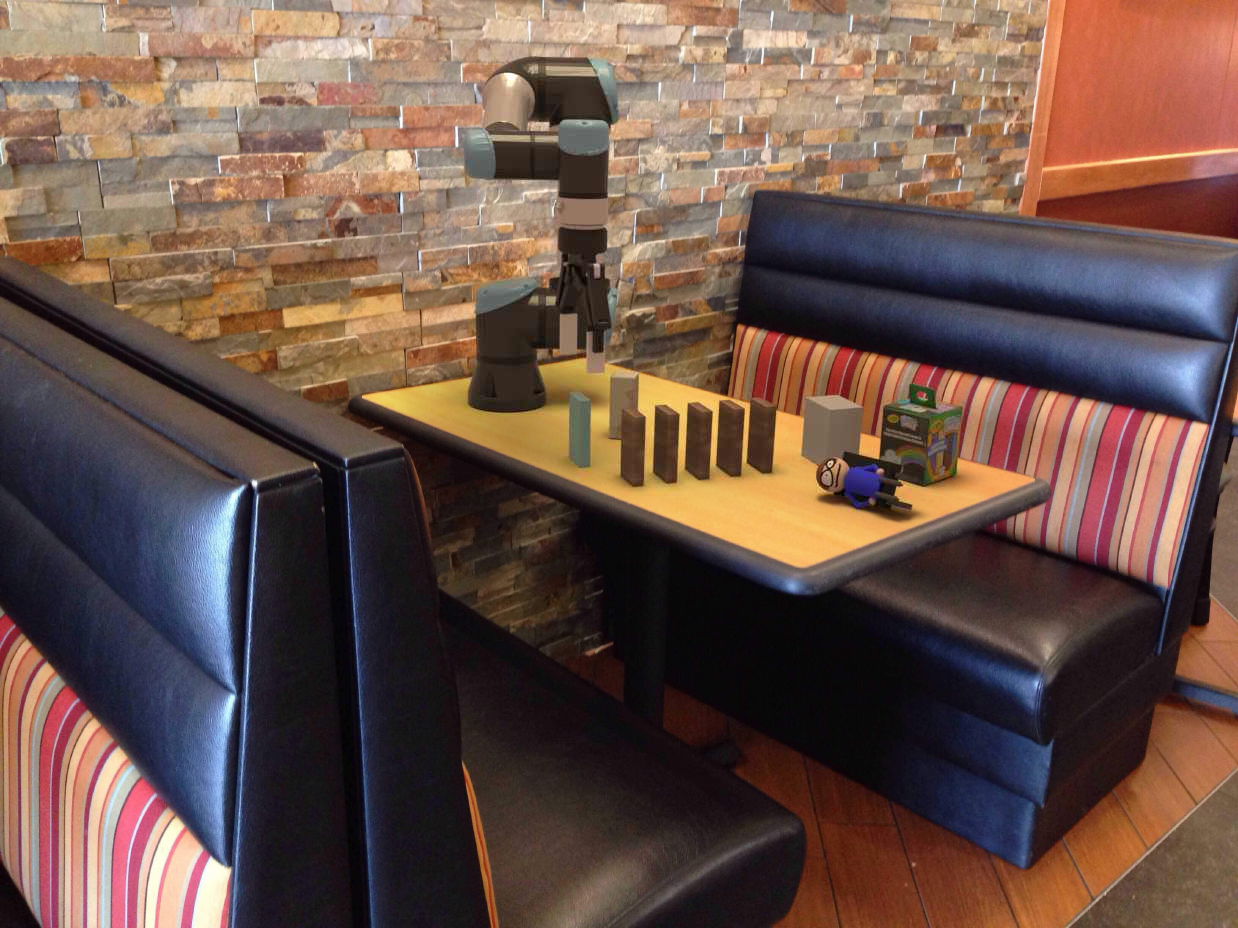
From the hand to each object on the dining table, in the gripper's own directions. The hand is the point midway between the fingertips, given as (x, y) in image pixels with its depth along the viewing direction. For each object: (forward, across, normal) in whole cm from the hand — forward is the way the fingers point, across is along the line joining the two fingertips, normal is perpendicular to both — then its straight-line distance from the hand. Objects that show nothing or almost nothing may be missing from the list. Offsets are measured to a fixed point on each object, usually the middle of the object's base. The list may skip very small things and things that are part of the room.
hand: (581, 363), depth 173 cm
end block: (+16, +11, +40) cm, 44 cm away
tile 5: (+16, +11, +27) cm, 33 cm away
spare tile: (+16, 0, 0) cm, 16 cm away
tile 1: (+16, +11, +5) cm, 20 cm away
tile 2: (+16, +11, +10) cm, 22 cm away
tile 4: (+16, +11, +21) cm, 29 cm away
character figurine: (+17, +31, +34) cm, 49 cm away
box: (+17, -12, +12) cm, 24 cm away
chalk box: (+17, +21, +50) cm, 57 cm away
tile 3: (+16, +11, +16) cm, 25 cm away
